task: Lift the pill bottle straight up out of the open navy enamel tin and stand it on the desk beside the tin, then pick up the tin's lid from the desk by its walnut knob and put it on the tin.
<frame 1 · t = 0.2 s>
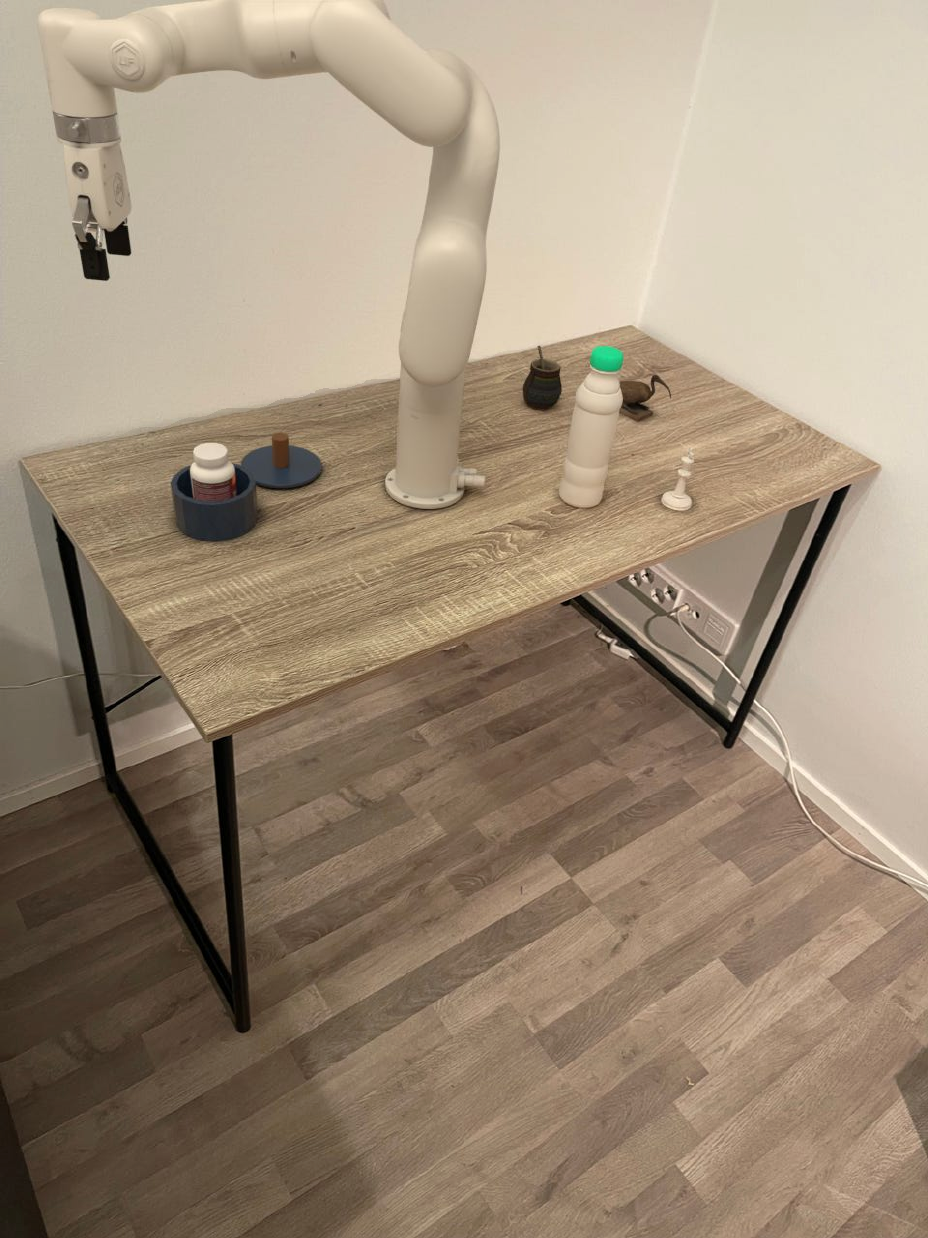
hand: (108, 266, 127), 31 cm above the table, tool pointing down, fingers open, 9 cm apart
mate gourd: (538, 405, 175), on the table
figurine: (633, 413, 176), on the table
chess piece: (676, 503, 152), on the table
water bottle: (579, 498, 151), on the table
lid: (281, 467, 149), point 1 cm above the table
tin: (217, 518, 137), on the table
pill bottle: (217, 518, 137), resting on tin
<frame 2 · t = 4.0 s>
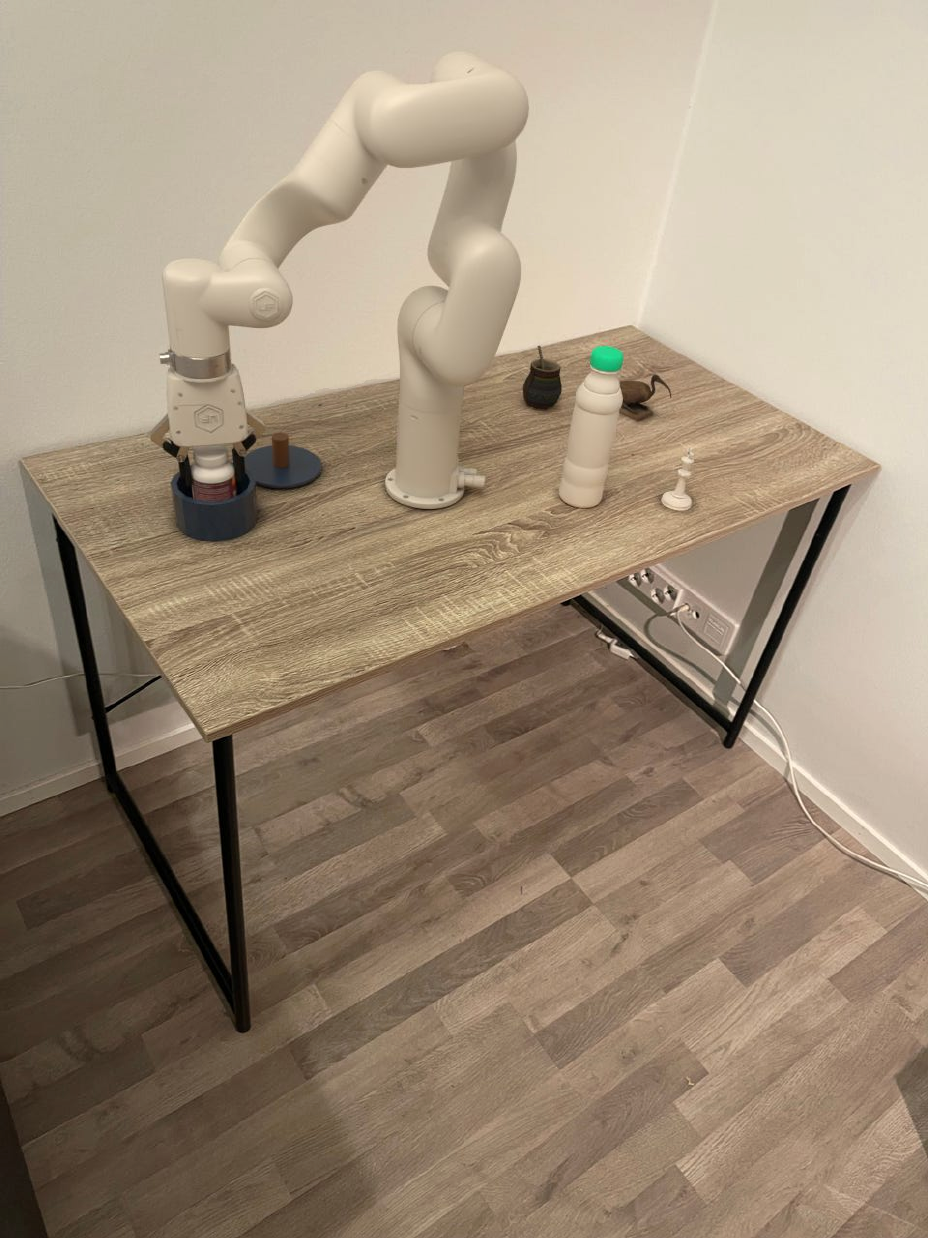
hand: (213, 478, 133), 7 cm above the table, tool pointing down, fingers closed on pill bottle, 6 cm apart
pill bottle: (217, 518, 137), resting on tin, touching gripper
everything else where it was.
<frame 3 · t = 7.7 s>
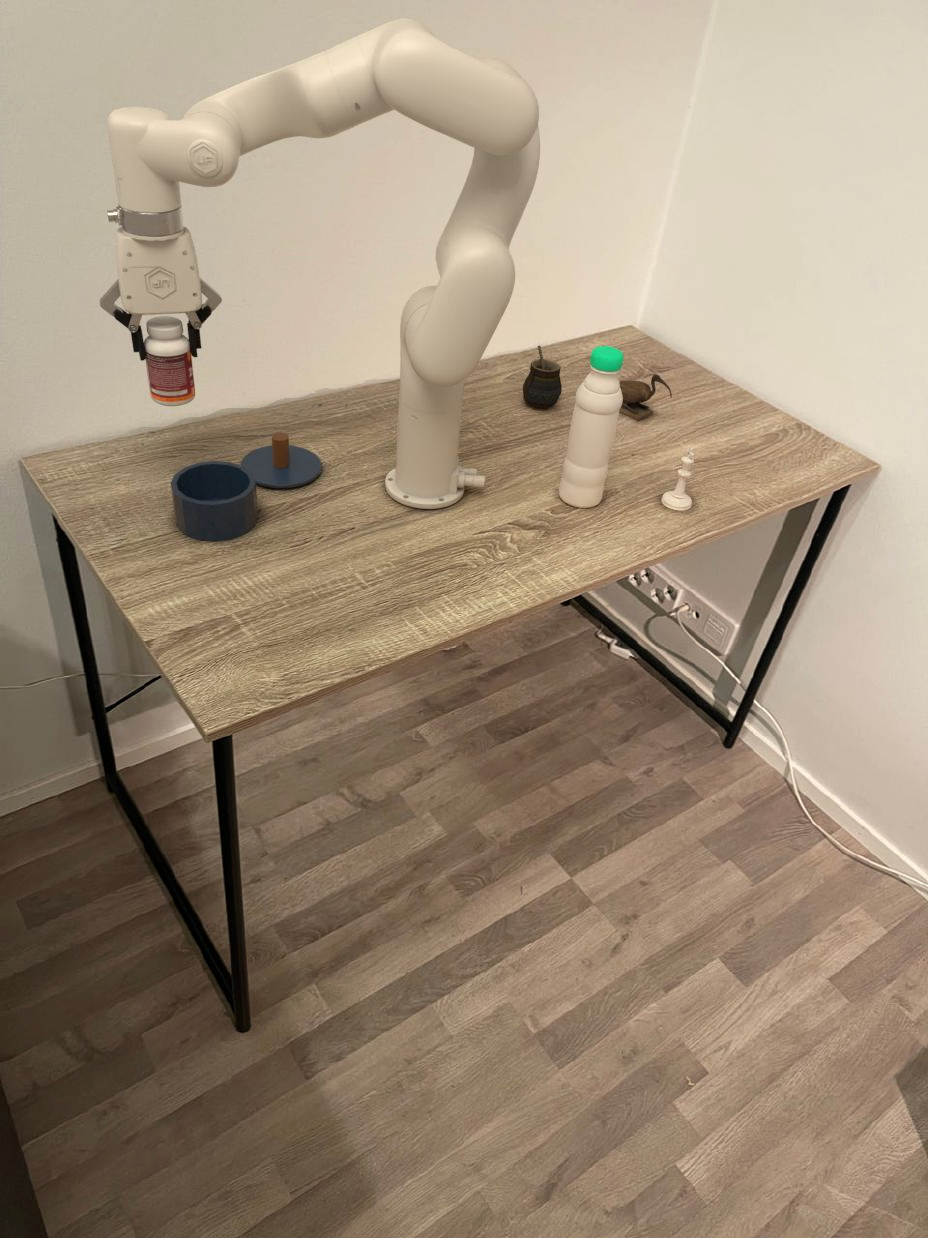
hand: (168, 353, 129), 22 cm above the table, tool pointing down, fingers closed on pill bottle, 6 cm apart
pill bottle: (173, 398, 133), point 15 cm above the table, touching gripper
everything else where it was.
when the fingers open (7 cm above the table, at t = 11.6 s): pill bottle stays where it is, on the table.
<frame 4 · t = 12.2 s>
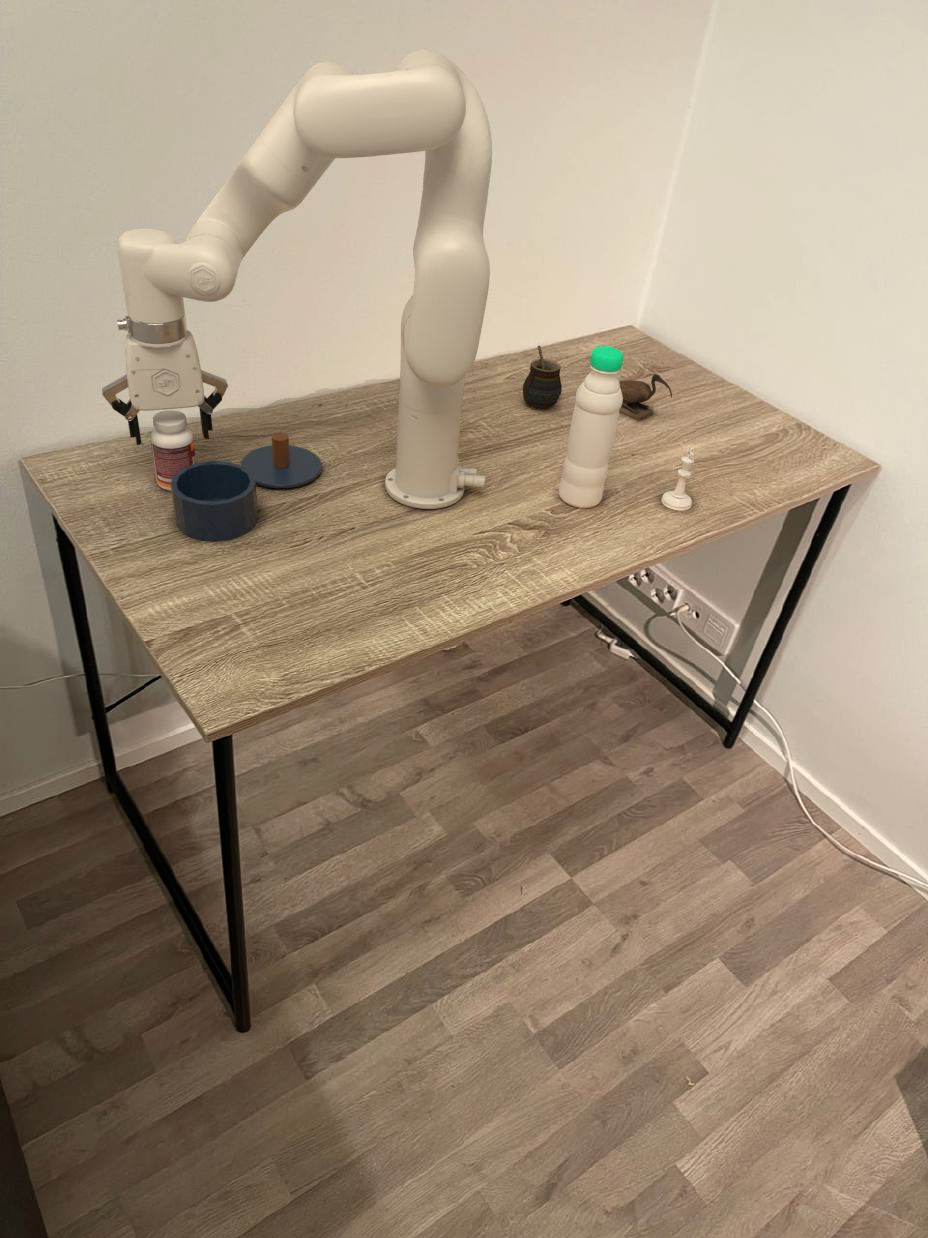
hand: (172, 437, 139), 8 cm above the table, tool pointing down, fingers open, 9 cm apart
pill bottle: (177, 483, 144), on the table
everything else where it was.
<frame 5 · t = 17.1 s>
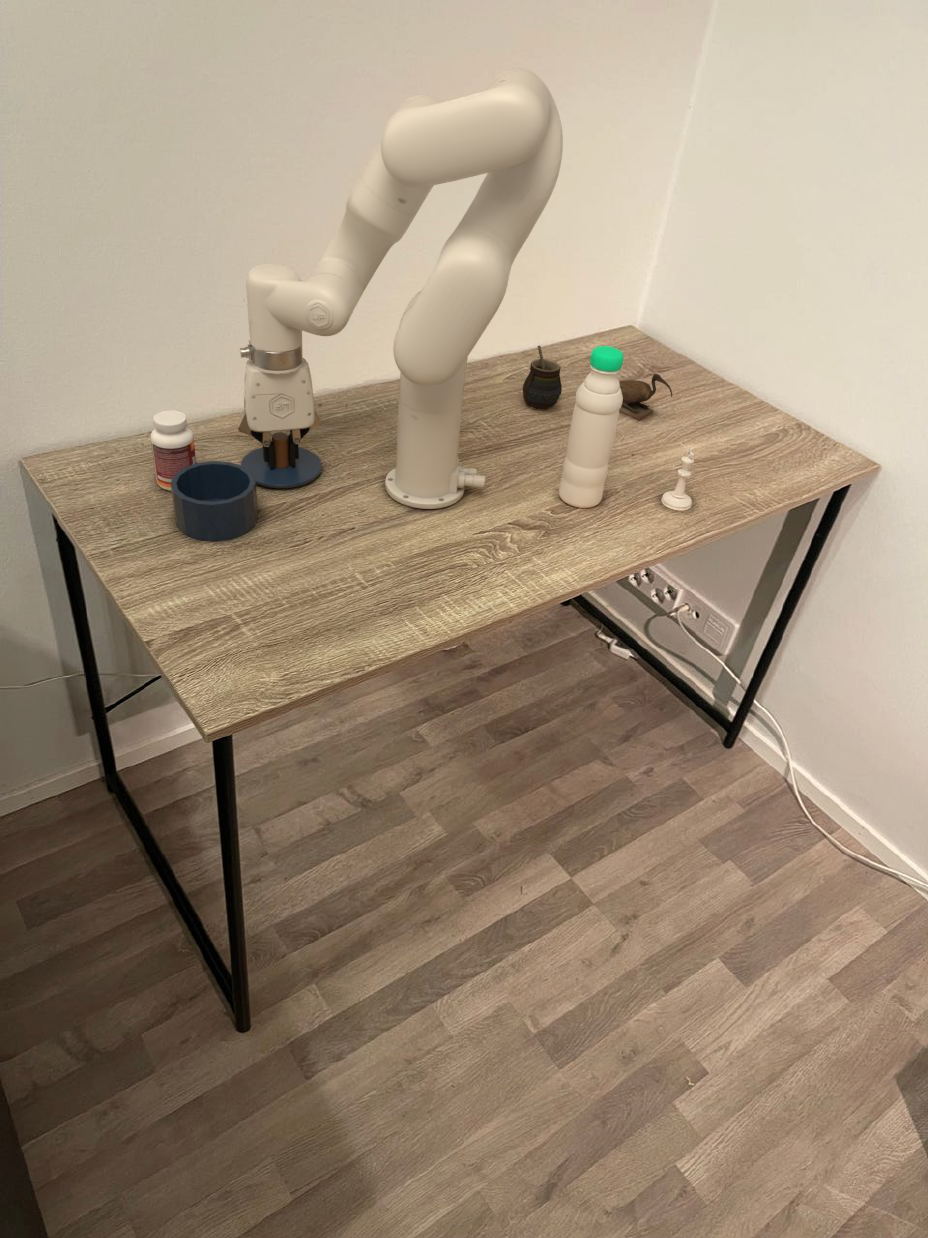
hand: (281, 462, 148), 1 cm above the table, tool pointing down, fingers closed on lid, 2 cm apart
lid: (281, 467, 149), point 1 cm above the table, touching gripper
everything else where it was.
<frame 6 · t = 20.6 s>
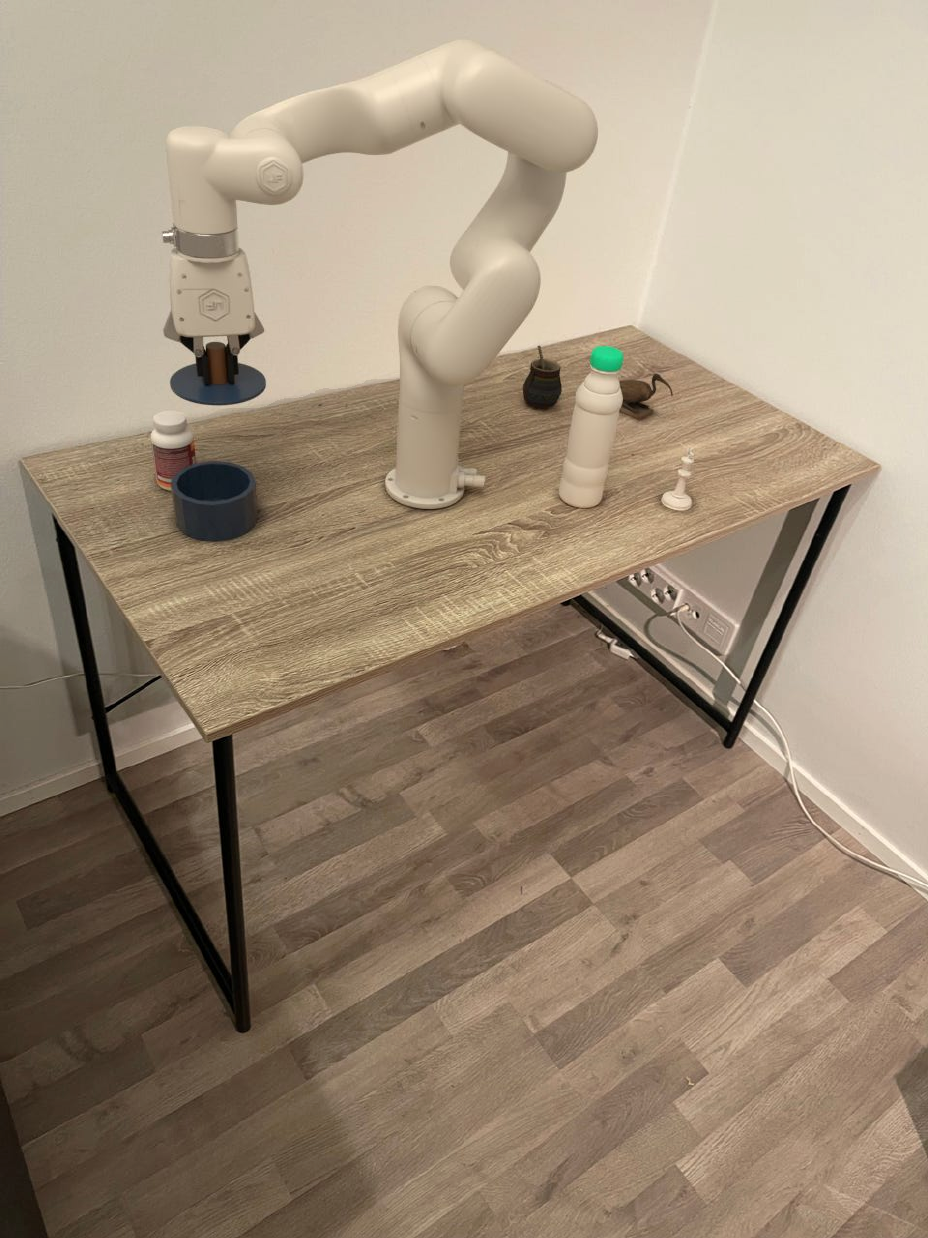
hand: (218, 378, 126), 21 cm above the table, tool pointing down, fingers closed on lid, 2 cm apart
lid: (218, 384, 127), point 20 cm above the table, touching gripper
everything else where it was.
when the fingers open (7 cm above the table, at t = 24.1 s): lid stays where it is, resting on tin.
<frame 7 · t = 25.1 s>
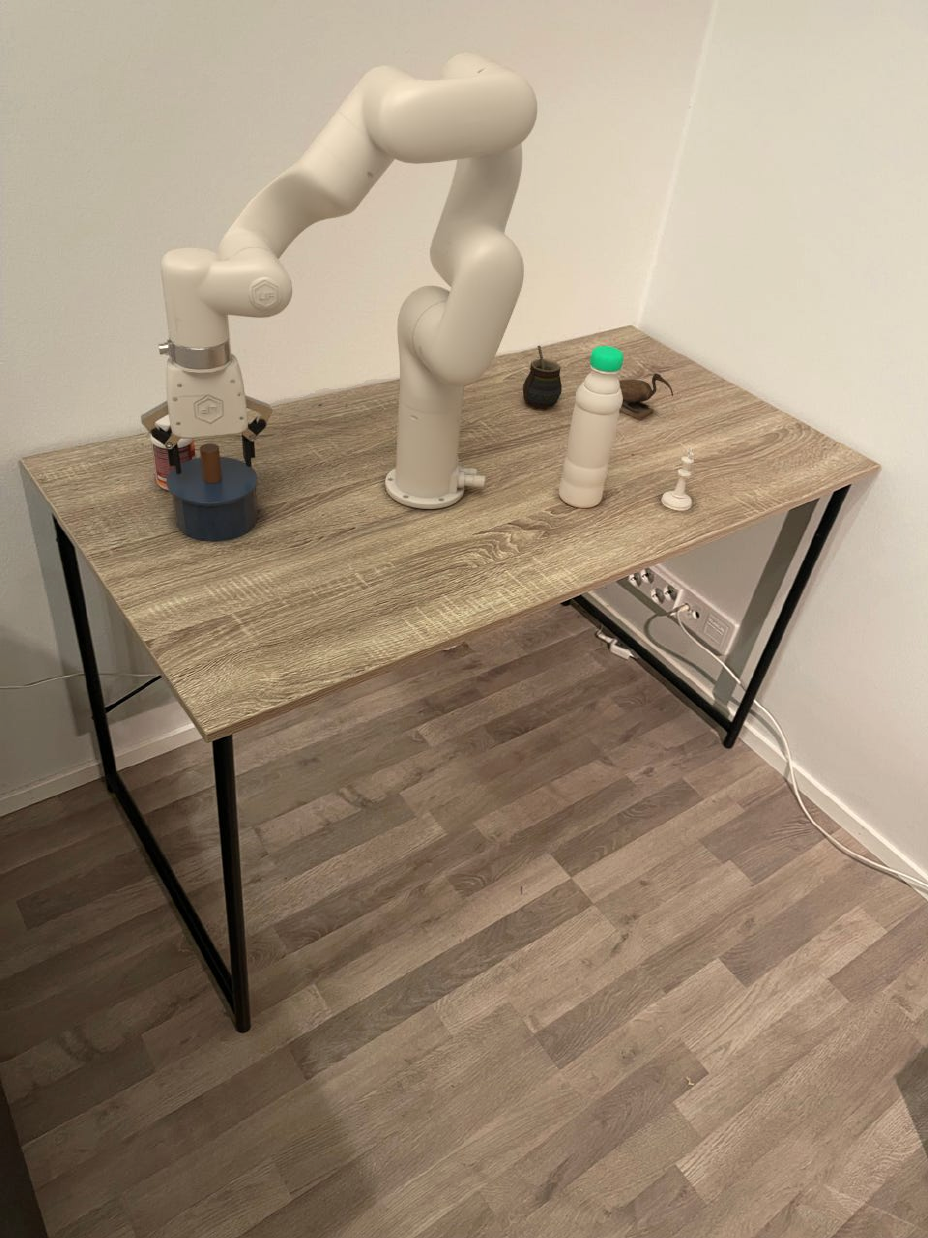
hand: (213, 465, 131), 9 cm above the table, tool pointing down, fingers open, 9 cm apart
lid: (212, 481, 133), point 6 cm above the table, touching tin
everything else where it was.
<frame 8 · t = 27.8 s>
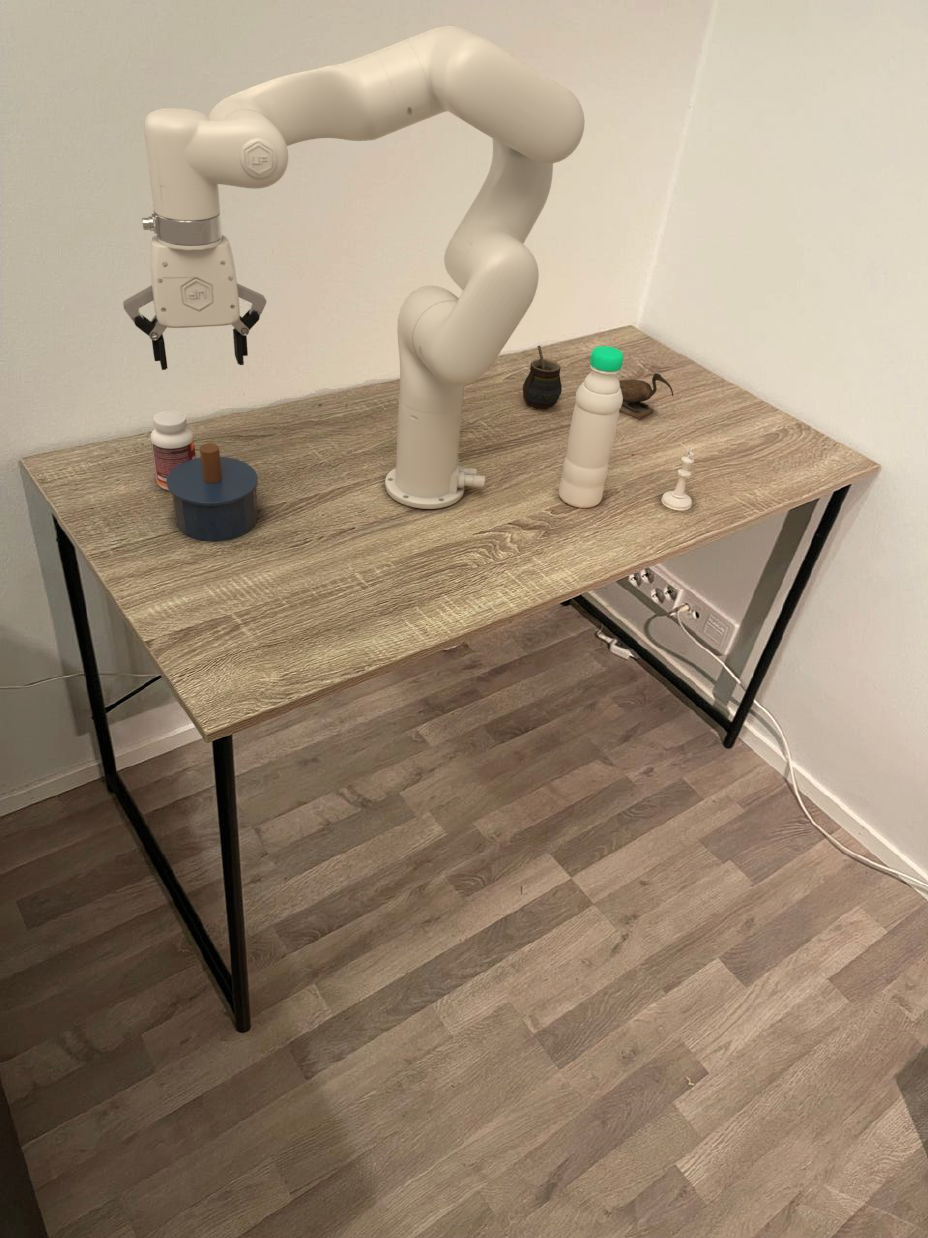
hand: (202, 362, 122), 24 cm above the table, tool pointing down, fingers open, 9 cm apart
nothing on the table moved.
at the end: pill bottle inside the target area (0.0 cm from its centre), on the table; lid 0.1 cm off-centre on the tin, point 6.3 cm above the tin's base; lid tilted 0° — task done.
